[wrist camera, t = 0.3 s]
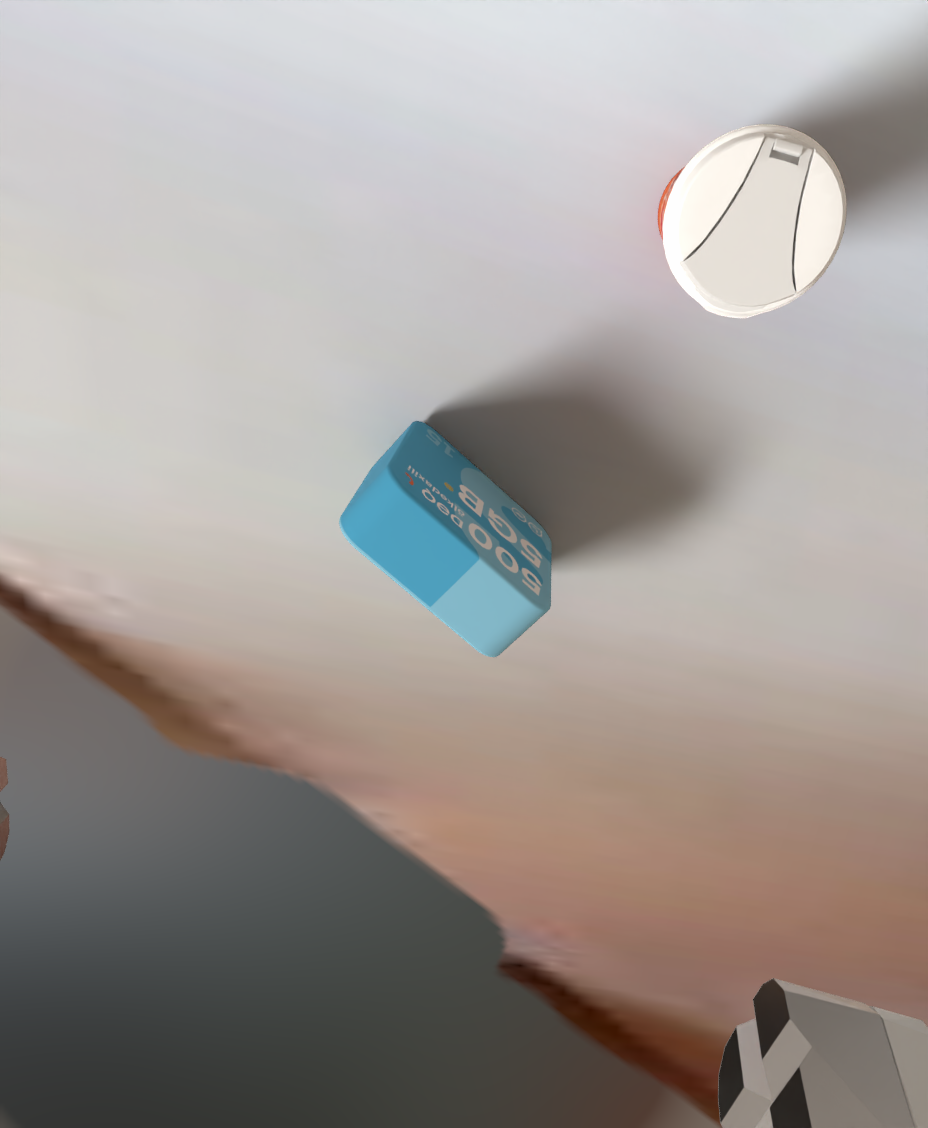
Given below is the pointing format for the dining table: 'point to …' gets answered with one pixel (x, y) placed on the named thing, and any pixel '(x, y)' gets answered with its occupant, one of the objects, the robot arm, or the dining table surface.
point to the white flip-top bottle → (753, 219)
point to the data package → (452, 540)
